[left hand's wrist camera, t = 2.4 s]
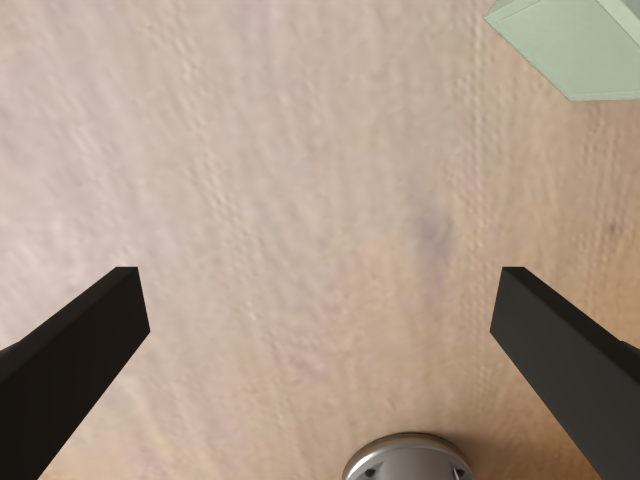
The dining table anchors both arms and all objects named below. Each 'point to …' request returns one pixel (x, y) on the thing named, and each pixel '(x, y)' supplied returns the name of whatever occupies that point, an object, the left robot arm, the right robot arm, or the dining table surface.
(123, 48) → the dining table surface
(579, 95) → the chest
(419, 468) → the left robot arm
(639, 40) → the lid
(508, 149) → the dining table surface
